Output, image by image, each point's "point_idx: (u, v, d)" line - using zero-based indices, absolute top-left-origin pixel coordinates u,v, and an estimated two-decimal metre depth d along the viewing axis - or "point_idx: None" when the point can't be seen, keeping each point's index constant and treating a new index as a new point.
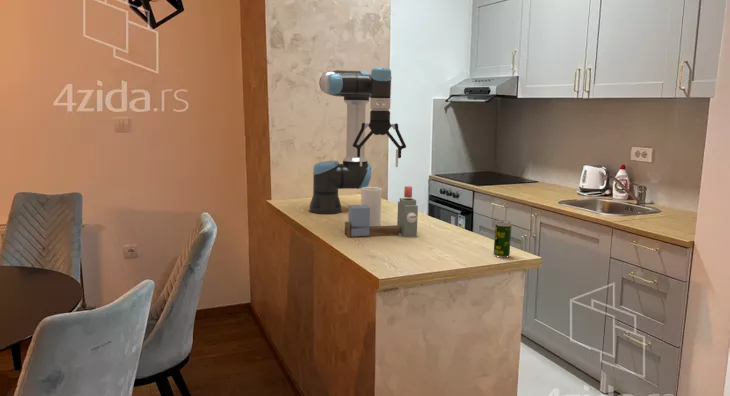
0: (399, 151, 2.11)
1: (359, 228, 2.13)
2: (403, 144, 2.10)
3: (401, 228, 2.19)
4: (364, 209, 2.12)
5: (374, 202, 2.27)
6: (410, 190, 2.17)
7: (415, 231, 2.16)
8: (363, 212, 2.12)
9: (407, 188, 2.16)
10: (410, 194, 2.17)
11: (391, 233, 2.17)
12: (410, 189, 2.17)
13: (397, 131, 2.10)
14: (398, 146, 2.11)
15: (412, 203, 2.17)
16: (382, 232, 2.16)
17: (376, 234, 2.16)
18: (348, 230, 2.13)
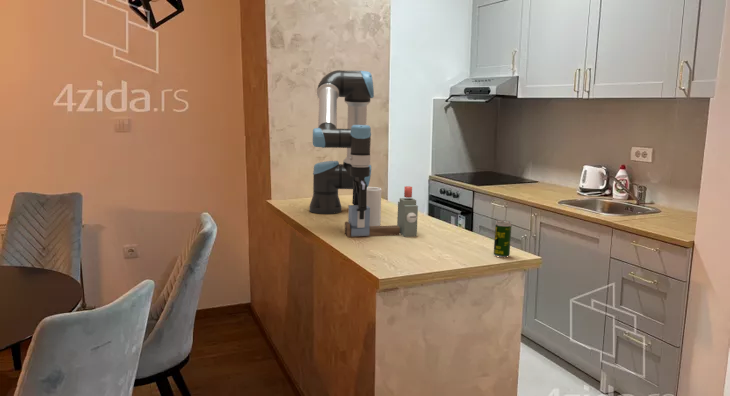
0: (359, 212, 2.10)
1: (359, 228, 2.13)
2: (359, 206, 2.08)
3: (401, 228, 2.19)
4: None
5: (374, 202, 2.27)
6: (410, 190, 2.17)
7: (415, 231, 2.16)
8: None
9: (407, 188, 2.16)
10: (410, 194, 2.17)
11: (391, 233, 2.17)
12: (410, 189, 2.17)
13: (359, 191, 2.08)
14: (358, 207, 2.10)
15: (412, 203, 2.17)
16: (382, 232, 2.16)
17: (376, 234, 2.16)
18: (348, 230, 2.13)
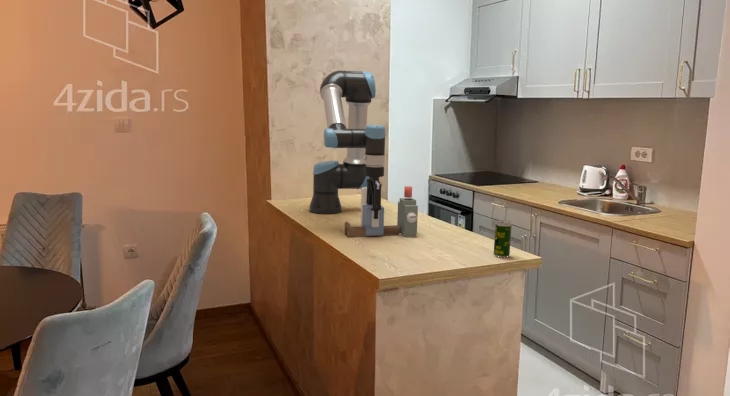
0: (374, 212, 2.12)
1: (373, 228, 2.14)
2: (374, 205, 2.09)
3: (401, 228, 2.19)
4: None
5: None
6: (410, 190, 2.17)
7: (415, 231, 2.16)
8: None
9: (407, 188, 2.16)
10: (410, 194, 2.17)
11: (391, 233, 2.17)
12: (410, 189, 2.17)
13: (374, 191, 2.09)
14: (373, 206, 2.11)
15: (412, 203, 2.17)
16: None
17: None
18: (348, 230, 2.13)
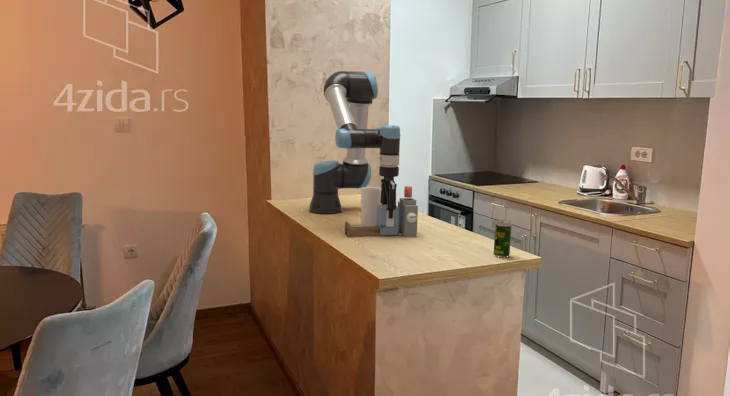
0: (389, 211, 2.13)
1: (388, 227, 2.15)
2: (389, 205, 2.11)
3: (401, 228, 2.19)
4: None
5: (374, 202, 2.27)
6: (410, 190, 2.17)
7: (415, 231, 2.16)
8: None
9: (407, 188, 2.16)
10: (410, 194, 2.17)
11: None
12: (410, 189, 2.17)
13: (389, 191, 2.10)
14: (387, 206, 2.13)
15: (412, 203, 2.17)
16: None
17: (376, 234, 2.16)
18: (348, 230, 2.13)
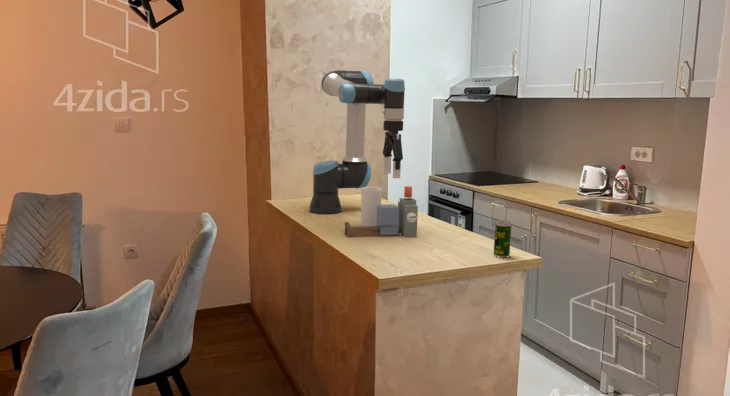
0: (395, 162, 2.07)
1: (388, 227, 2.15)
2: (395, 155, 2.05)
3: (401, 228, 2.19)
4: (393, 208, 2.14)
5: (374, 202, 2.27)
6: (410, 190, 2.17)
7: (415, 231, 2.16)
8: (392, 212, 2.15)
9: (407, 188, 2.16)
10: (410, 194, 2.17)
11: None
12: (410, 189, 2.17)
13: (394, 142, 2.06)
14: (394, 157, 2.07)
15: (412, 203, 2.17)
16: None
17: (376, 234, 2.16)
18: (348, 230, 2.13)
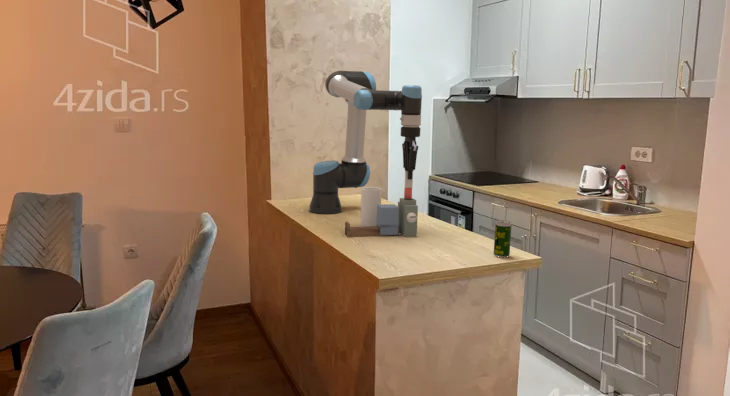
0: (408, 172, 2.15)
1: (388, 227, 2.15)
2: (408, 166, 2.13)
3: (401, 228, 2.19)
4: (393, 208, 2.14)
5: (374, 202, 2.27)
6: (410, 191, 2.17)
7: (415, 231, 2.16)
8: (392, 212, 2.15)
9: (407, 189, 2.16)
10: (410, 195, 2.17)
11: None
12: (410, 190, 2.17)
13: (410, 152, 2.11)
14: (407, 167, 2.15)
15: (412, 203, 2.17)
16: None
17: (376, 234, 2.16)
18: (348, 230, 2.13)
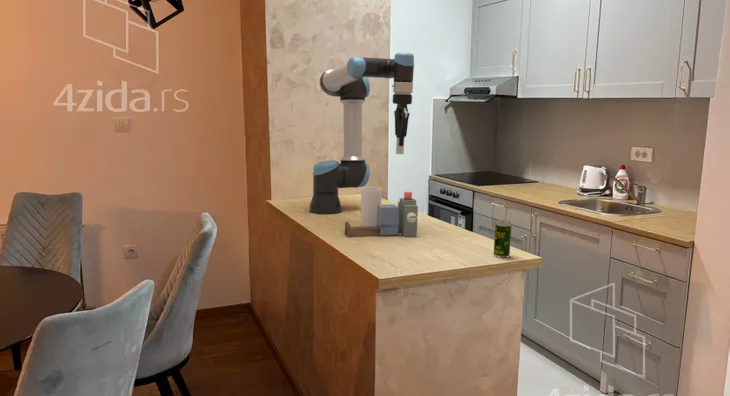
0: (399, 139, 2.20)
1: (388, 227, 2.15)
2: (400, 132, 2.17)
3: (401, 228, 2.19)
4: (393, 208, 2.14)
5: (374, 202, 2.27)
6: (410, 196, 2.17)
7: (415, 231, 2.16)
8: (392, 212, 2.15)
9: (407, 194, 2.17)
10: None
11: None
12: (410, 195, 2.17)
13: (401, 119, 2.15)
14: (398, 134, 2.19)
15: (412, 203, 2.17)
16: None
17: (376, 234, 2.16)
18: (348, 230, 2.13)
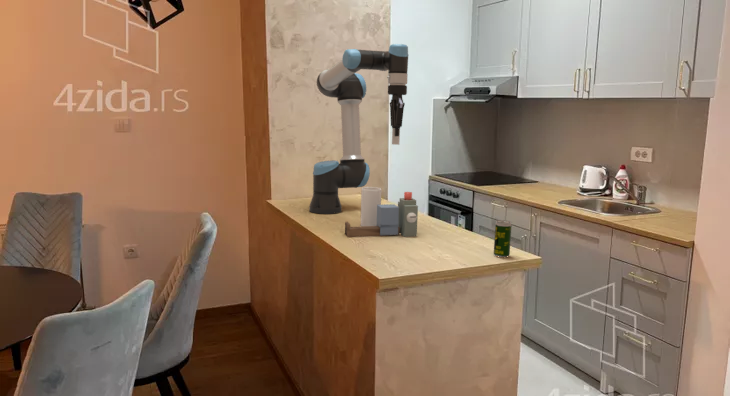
0: (395, 129, 2.23)
1: (388, 227, 2.15)
2: (395, 122, 2.20)
3: (401, 228, 2.19)
4: (393, 208, 2.14)
5: (374, 202, 2.27)
6: (410, 196, 2.17)
7: (415, 231, 2.16)
8: (392, 212, 2.15)
9: (407, 194, 2.17)
10: None
11: None
12: (410, 195, 2.17)
13: (397, 109, 2.18)
14: (394, 124, 2.22)
15: (412, 203, 2.17)
16: None
17: (376, 234, 2.16)
18: (348, 230, 2.13)
